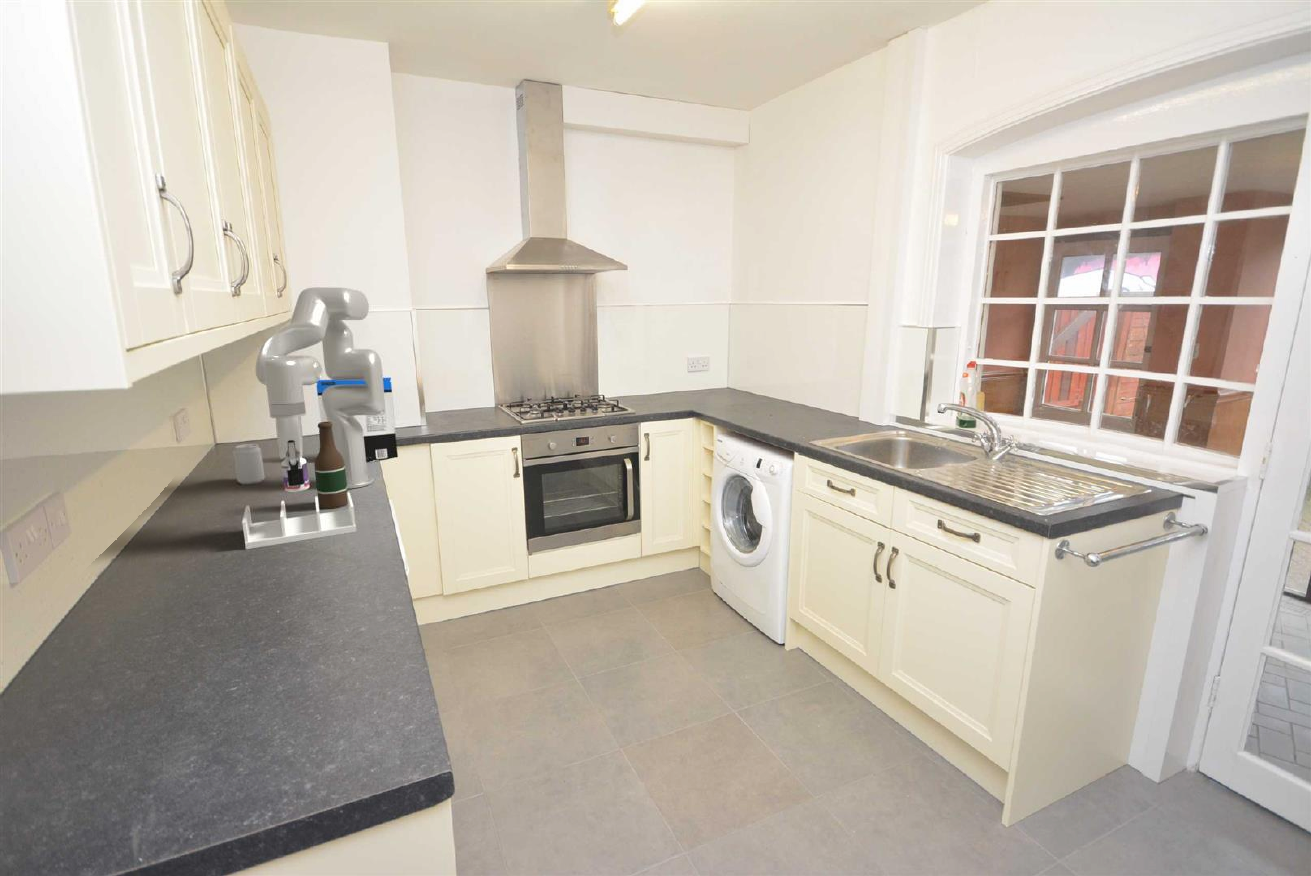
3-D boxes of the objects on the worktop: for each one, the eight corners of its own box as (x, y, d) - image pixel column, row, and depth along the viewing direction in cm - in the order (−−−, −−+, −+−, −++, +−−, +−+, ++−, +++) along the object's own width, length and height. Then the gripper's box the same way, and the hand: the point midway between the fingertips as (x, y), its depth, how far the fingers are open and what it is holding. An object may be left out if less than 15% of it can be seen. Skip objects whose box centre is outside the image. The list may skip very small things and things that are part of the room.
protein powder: (397, 460, 228) (390, 378, 221) (323, 466, 219) (313, 381, 213) (398, 454, 236) (391, 376, 230) (327, 459, 228) (317, 378, 222)
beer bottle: (322, 511, 171) (312, 426, 166) (316, 504, 177) (306, 422, 172) (352, 505, 176) (343, 422, 171) (345, 499, 182) (336, 418, 177)
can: (231, 484, 197) (226, 447, 195) (251, 477, 204) (246, 442, 202) (251, 485, 195) (245, 448, 193) (270, 479, 202) (265, 443, 200)
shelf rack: (249, 529, 157) (246, 505, 156) (351, 514, 168) (349, 491, 167) (245, 549, 144) (242, 522, 143) (356, 531, 156) (353, 506, 154)
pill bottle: (301, 485, 158) (297, 447, 156) (314, 488, 155) (309, 450, 153) (280, 490, 153) (275, 451, 151) (292, 493, 150) (287, 454, 148)
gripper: (270, 406, 155) (279, 476, 159) (268, 416, 141) (278, 492, 145) (304, 404, 159) (313, 472, 163) (305, 413, 144) (314, 488, 148)
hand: (296, 481), depth 154 cm, fingers closed on pill bottle, 5 cm apart
